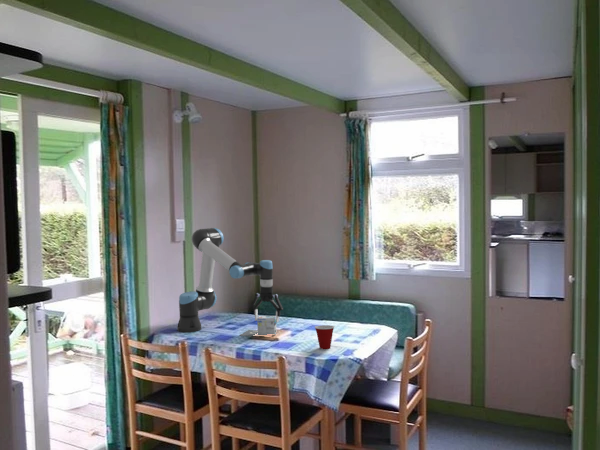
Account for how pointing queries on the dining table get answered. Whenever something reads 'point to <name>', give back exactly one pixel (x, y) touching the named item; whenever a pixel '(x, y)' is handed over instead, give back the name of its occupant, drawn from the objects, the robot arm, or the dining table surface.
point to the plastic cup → (324, 336)
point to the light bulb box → (266, 325)
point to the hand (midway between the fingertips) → (266, 321)
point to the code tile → (249, 333)
